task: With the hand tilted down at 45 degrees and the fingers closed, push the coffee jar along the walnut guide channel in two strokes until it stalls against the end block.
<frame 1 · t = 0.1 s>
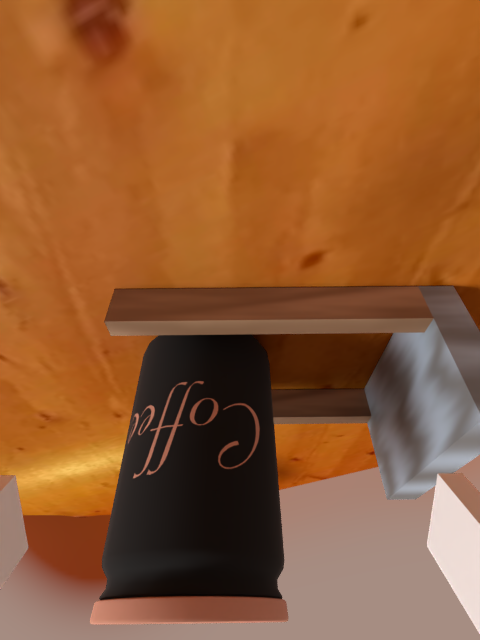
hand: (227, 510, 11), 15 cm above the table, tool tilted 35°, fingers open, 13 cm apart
channel: (275, 352, 31), on the table
coffee jar: (207, 351, 31), on the table
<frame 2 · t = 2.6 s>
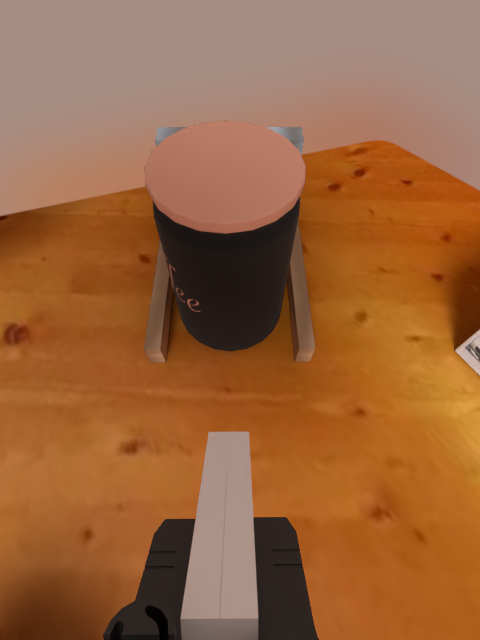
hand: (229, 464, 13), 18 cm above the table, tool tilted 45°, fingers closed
channel: (230, 268, 42), on the table
coffee jar: (230, 312, 39), on the table
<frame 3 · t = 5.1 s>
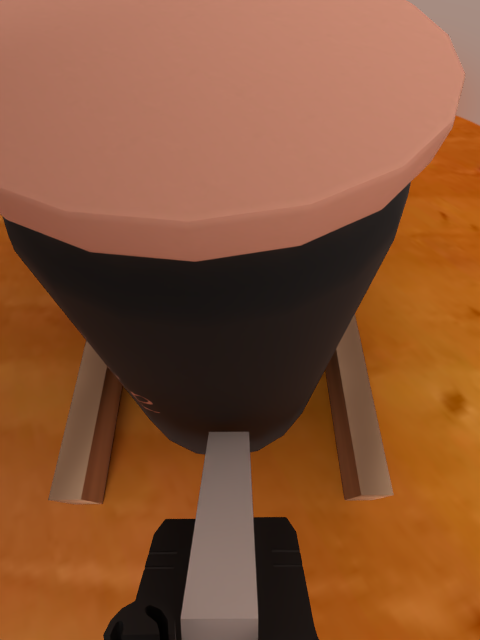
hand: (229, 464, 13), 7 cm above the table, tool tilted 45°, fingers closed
channel: (225, 312, 25), on the table
coffee jar: (226, 374, 23), on the table, touching gripper
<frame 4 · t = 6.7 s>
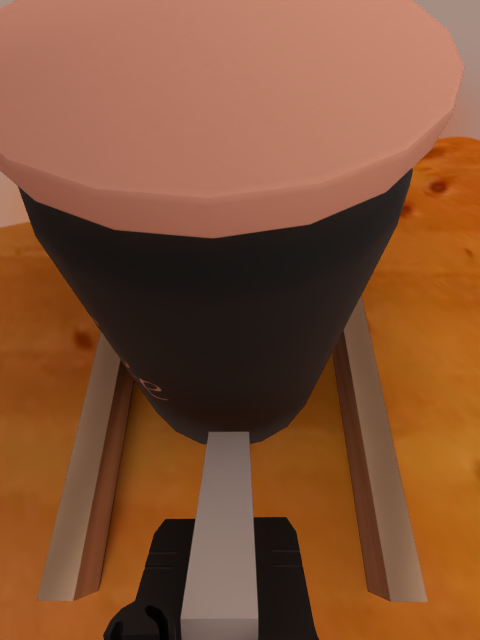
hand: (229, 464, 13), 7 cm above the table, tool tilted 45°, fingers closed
channel: (235, 362, 23), on the table
coffee jar: (230, 367, 23), on the table
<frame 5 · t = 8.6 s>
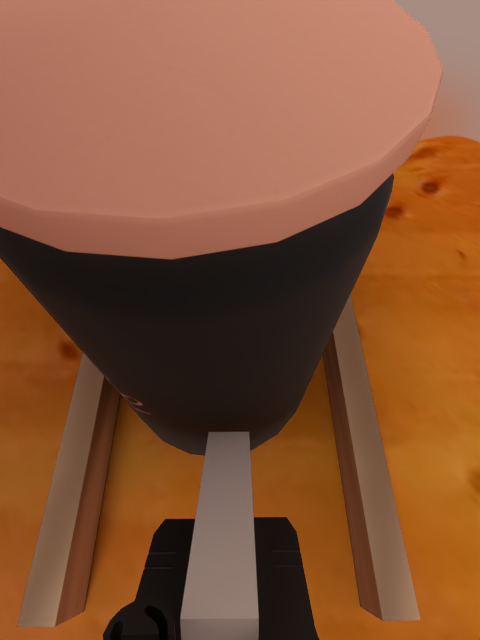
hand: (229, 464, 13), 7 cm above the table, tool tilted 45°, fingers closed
channel: (224, 371, 23), on the table
coffee jar: (219, 374, 23), on the table, touching gripper
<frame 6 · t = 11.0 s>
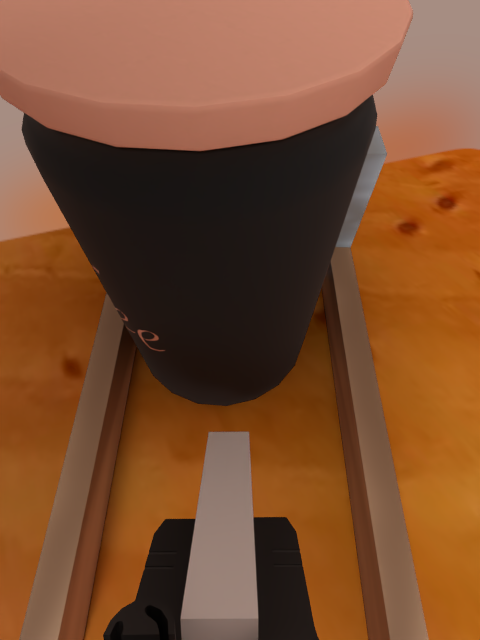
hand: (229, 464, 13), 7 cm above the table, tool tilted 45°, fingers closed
channel: (231, 393, 22), on the table
coffee jar: (222, 336, 24), on the table
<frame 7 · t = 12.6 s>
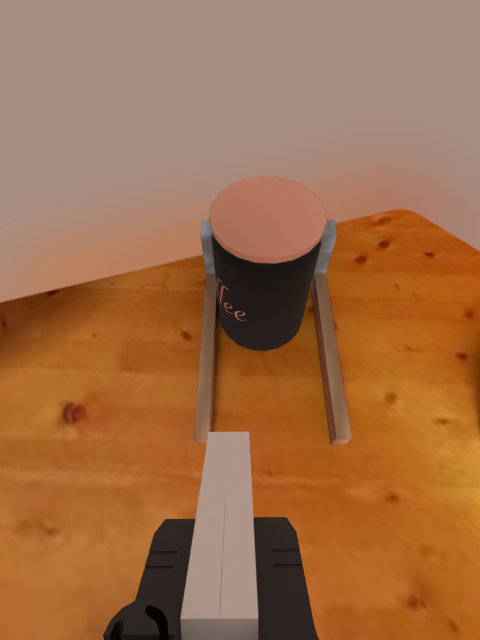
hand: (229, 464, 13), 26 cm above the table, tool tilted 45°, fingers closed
channel: (267, 346, 45), on the table
coffee jar: (260, 319, 47), on the table
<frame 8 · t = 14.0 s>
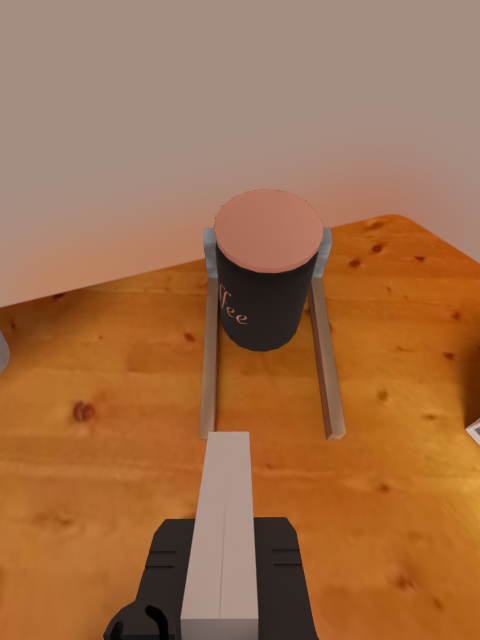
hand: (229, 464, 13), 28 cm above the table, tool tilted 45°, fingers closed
channel: (266, 347, 47), on the table
coffee jar: (259, 321, 50), on the table
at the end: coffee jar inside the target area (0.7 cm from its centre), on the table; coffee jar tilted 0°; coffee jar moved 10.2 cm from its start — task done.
